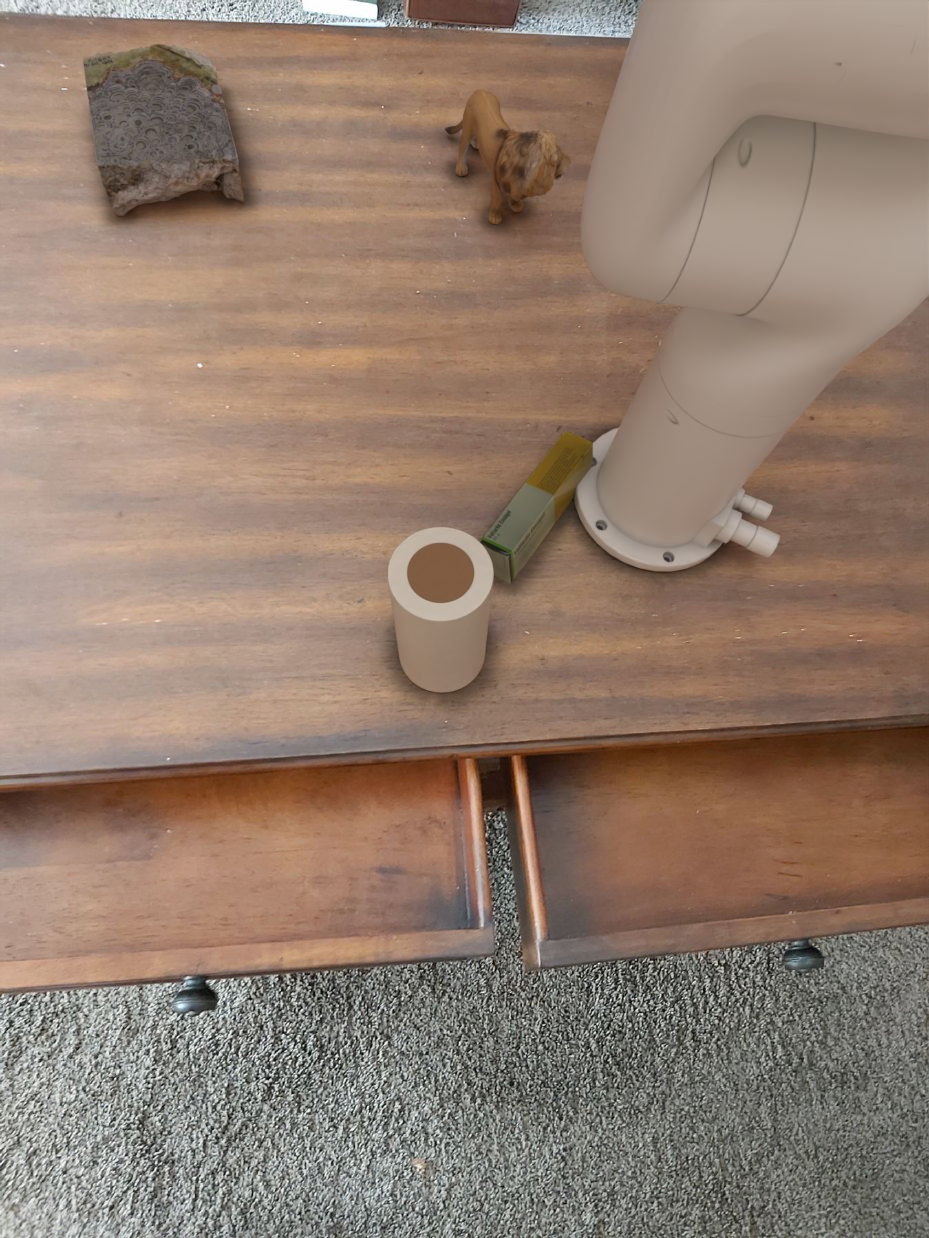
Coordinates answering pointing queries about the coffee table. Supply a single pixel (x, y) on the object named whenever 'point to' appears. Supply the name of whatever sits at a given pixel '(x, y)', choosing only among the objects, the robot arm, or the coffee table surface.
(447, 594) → the paper towel roll
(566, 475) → the medication box
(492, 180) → the lion figurine
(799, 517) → the coffee table surface
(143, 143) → the geological specimen
